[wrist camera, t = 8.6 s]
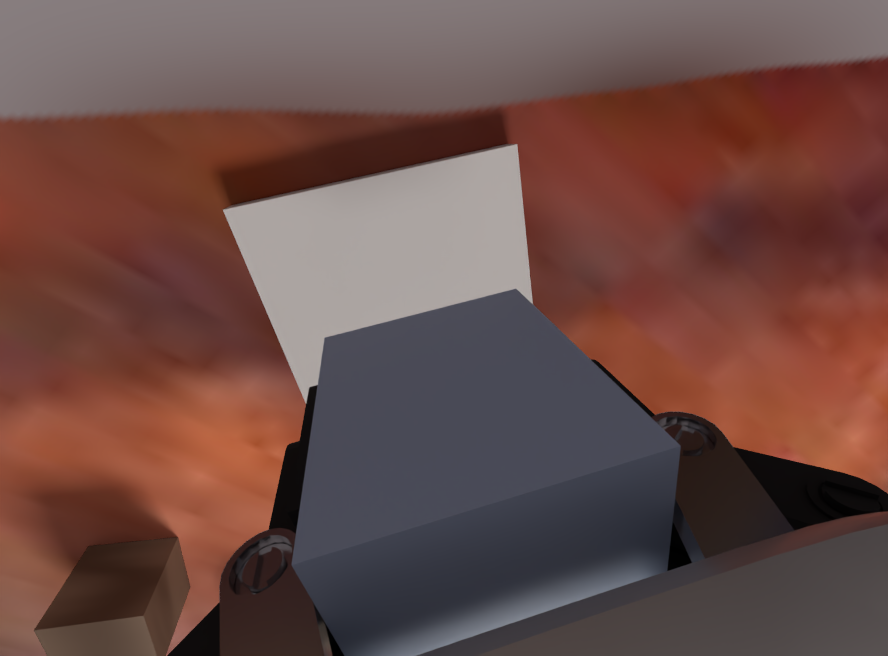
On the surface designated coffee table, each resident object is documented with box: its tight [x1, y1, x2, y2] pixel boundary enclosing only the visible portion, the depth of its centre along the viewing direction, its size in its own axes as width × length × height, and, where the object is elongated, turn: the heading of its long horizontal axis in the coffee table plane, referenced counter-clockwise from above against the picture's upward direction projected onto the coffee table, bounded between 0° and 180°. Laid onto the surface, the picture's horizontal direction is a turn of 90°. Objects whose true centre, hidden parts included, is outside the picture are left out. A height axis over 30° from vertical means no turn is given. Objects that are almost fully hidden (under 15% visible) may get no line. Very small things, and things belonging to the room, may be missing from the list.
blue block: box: [292, 289, 681, 656], centre depth 9 cm, size 5×5×6 cm
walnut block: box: [34, 537, 190, 656], centre depth 20 cm, size 4×4×4 cm
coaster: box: [223, 144, 533, 403], centre depth 18 cm, size 11×11×1 cm
